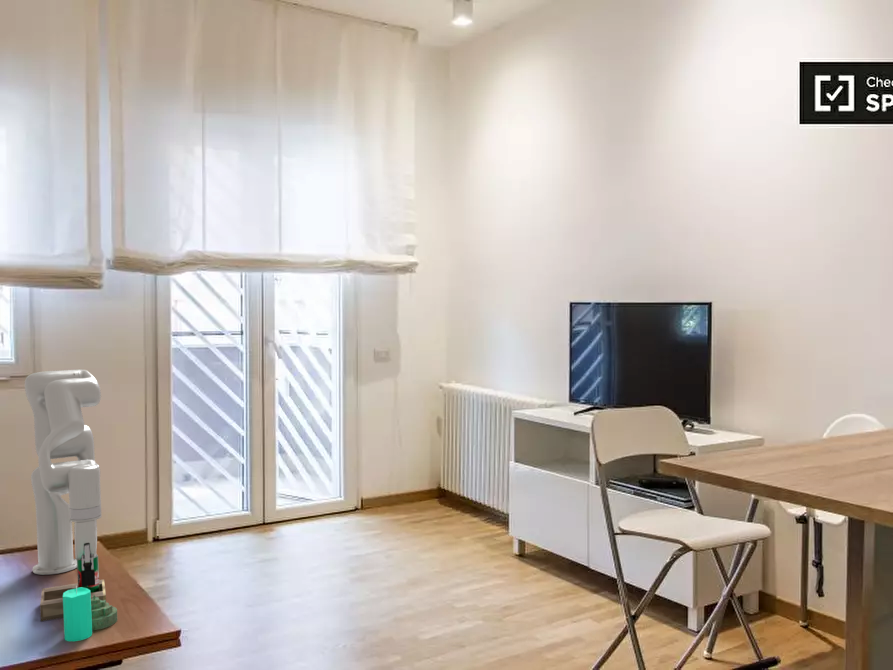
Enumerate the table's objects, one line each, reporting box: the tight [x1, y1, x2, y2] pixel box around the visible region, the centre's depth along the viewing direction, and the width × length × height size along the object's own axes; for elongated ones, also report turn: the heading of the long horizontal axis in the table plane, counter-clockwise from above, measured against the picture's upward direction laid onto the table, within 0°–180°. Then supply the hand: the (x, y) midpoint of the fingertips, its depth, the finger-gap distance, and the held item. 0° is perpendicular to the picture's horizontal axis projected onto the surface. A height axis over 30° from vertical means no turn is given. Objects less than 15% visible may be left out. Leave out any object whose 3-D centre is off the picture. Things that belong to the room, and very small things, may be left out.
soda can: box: [76, 553, 100, 593], centre depth 211 cm, size 5×5×12 cm
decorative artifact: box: [91, 595, 118, 632], centre depth 198 cm, size 10×7×10 cm
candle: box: [63, 586, 93, 642], centre depth 190 cm, size 6×6×12 cm
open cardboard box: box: [39, 579, 107, 622], centre depth 209 cm, size 14×15×4 cm
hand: (88, 581), depth 211 cm, fingers closed on soda can, 5 cm apart
